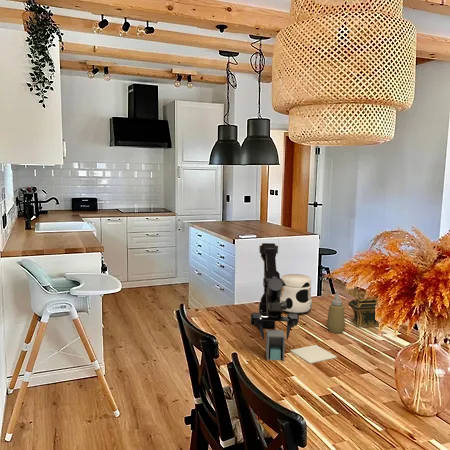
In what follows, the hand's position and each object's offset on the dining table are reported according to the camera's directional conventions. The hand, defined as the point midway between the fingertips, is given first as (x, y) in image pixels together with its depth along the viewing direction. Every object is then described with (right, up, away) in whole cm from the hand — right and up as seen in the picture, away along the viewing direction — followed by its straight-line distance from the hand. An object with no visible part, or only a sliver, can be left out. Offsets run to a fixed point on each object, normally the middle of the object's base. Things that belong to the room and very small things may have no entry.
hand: (275, 339), depth 167 cm
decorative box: (+47, -4, +40) cm, 62 cm away
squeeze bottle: (+31, -5, +31) cm, 44 cm away
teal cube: (0, -8, +1) cm, 8 cm away
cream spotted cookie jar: (+17, -1, +59) cm, 61 cm away
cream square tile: (+16, -7, +5) cm, 18 cm away
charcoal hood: (0, -8, +1) cm, 8 cm away
